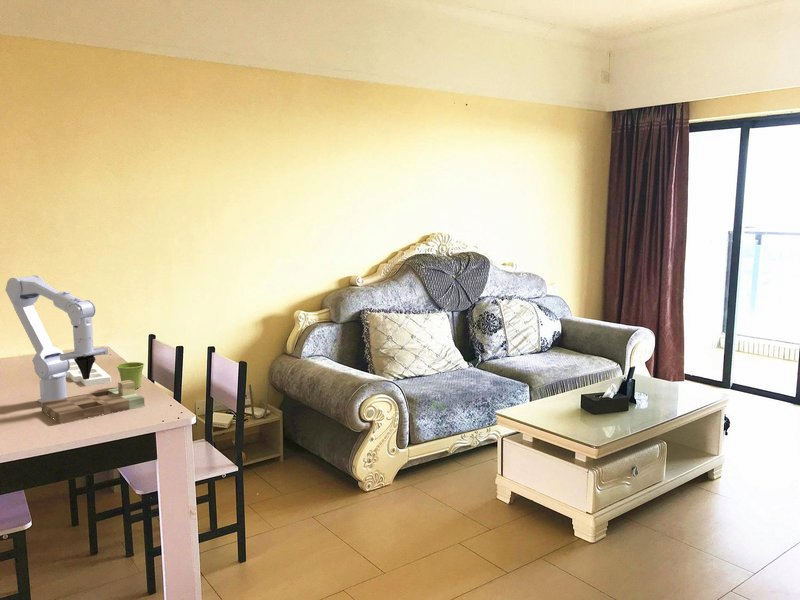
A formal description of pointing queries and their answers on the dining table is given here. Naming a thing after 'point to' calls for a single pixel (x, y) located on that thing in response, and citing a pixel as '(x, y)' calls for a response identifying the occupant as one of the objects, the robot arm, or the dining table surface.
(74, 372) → the holder
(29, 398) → the dining table surface
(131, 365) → the plant pot
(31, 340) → the robot arm
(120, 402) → the trap board
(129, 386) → the maple block
